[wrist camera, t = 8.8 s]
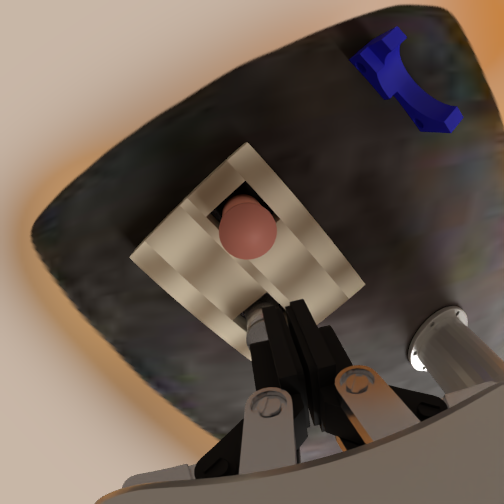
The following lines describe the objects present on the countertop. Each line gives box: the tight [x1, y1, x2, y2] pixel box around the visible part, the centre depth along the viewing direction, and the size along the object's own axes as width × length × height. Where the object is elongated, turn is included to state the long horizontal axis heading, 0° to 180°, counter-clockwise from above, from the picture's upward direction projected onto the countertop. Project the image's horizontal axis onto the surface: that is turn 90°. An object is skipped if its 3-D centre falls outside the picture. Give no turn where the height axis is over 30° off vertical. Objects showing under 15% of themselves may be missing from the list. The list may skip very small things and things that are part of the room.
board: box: [129, 142, 365, 361], centre depth 32 cm, size 20×16×3 cm
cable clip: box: [349, 26, 463, 133], centre depth 25 cm, size 12×4×6 cm, turn 47°
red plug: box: [219, 194, 277, 260], centre depth 27 cm, size 5×5×6 cm
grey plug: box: [244, 293, 288, 350], centre depth 32 cm, size 5×5×6 cm
